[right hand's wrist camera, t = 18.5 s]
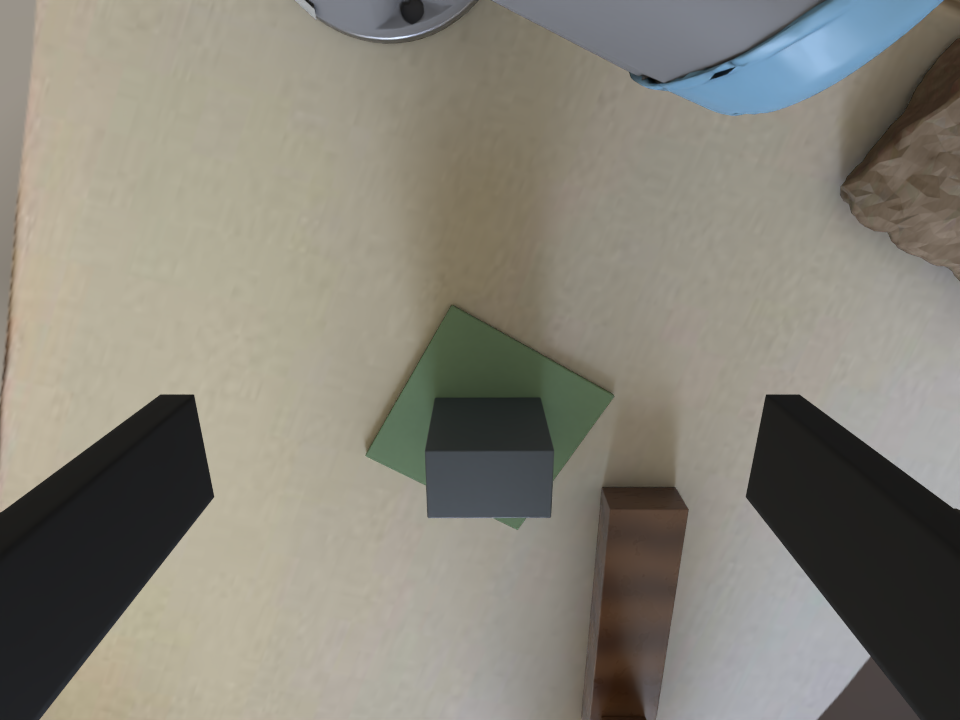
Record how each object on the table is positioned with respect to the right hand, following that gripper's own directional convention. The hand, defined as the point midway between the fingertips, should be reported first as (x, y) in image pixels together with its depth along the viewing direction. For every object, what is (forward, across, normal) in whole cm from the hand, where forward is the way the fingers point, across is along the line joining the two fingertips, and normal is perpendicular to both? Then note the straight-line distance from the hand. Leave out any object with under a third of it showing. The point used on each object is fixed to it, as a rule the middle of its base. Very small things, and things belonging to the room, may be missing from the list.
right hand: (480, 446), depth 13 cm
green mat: (+27, +1, -13) cm, 30 cm away
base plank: (+27, +13, -32) cm, 43 cm away
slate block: (+26, +1, -13) cm, 29 cm away
